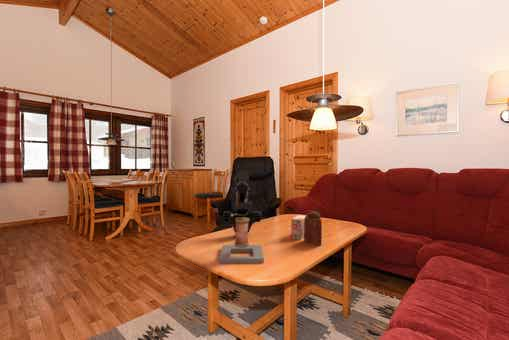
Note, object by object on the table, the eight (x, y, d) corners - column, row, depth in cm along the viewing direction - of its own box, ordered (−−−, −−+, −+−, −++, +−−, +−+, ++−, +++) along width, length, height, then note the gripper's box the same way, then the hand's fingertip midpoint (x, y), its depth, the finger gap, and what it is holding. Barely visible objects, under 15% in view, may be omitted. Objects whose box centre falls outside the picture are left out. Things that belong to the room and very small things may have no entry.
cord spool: (232, 244, 123) (232, 217, 122) (244, 242, 126) (245, 216, 125) (238, 248, 117) (239, 220, 116) (251, 246, 120) (251, 219, 120)
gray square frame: (222, 248, 132) (222, 245, 132) (260, 248, 133) (260, 244, 133) (219, 263, 113) (219, 258, 113) (263, 262, 114) (263, 258, 114)
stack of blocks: (302, 230, 170) (302, 212, 170) (311, 231, 167) (312, 213, 167) (291, 238, 152) (291, 218, 151) (301, 240, 148) (301, 219, 148)
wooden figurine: (325, 243, 142) (326, 212, 142) (319, 246, 137) (320, 213, 137) (307, 239, 150) (307, 209, 150) (301, 241, 146) (301, 210, 145)
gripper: (223, 195, 124) (221, 223, 113) (261, 195, 125) (262, 223, 114) (224, 208, 132) (222, 235, 121) (259, 208, 133) (261, 235, 122)
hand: (241, 232), depth 120 cm, fingers closed on cord spool, 6 cm apart
